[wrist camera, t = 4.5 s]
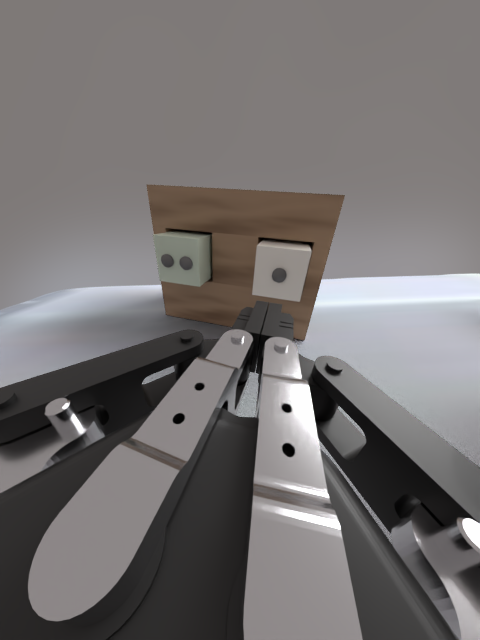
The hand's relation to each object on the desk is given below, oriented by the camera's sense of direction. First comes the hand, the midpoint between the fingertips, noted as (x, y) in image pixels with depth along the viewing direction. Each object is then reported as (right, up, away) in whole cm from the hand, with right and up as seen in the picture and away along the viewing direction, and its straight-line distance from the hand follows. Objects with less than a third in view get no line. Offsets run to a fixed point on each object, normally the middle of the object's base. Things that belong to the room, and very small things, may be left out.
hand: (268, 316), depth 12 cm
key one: (+3, +3, +11) cm, 12 cm away
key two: (-8, +5, +13) cm, 16 cm away
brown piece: (-2, +1, +20) cm, 20 cm away
